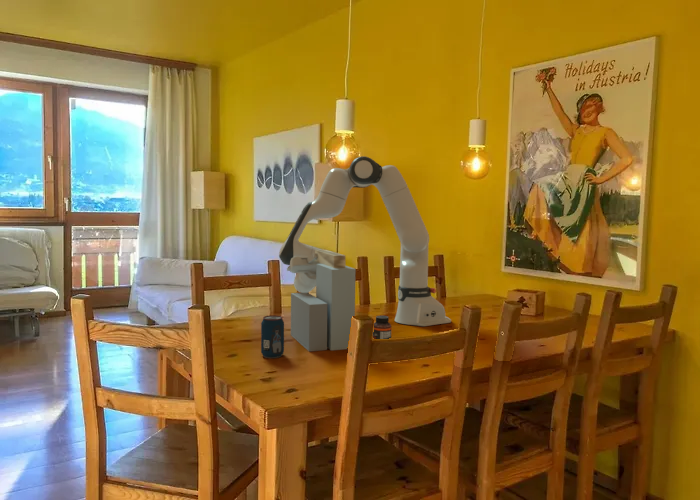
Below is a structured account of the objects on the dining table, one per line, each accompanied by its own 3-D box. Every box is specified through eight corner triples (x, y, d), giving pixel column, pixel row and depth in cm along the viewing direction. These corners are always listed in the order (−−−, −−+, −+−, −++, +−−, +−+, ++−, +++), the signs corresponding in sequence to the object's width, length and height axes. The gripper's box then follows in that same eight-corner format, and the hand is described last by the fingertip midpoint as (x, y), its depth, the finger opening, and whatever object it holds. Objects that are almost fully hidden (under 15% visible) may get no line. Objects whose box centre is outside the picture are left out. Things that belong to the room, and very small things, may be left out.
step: (307, 333, 199) (307, 292, 197) (326, 349, 178) (327, 303, 177) (290, 335, 196) (291, 293, 195) (309, 351, 176) (309, 304, 175)
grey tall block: (337, 336, 195) (338, 263, 193) (354, 348, 180) (355, 268, 178) (315, 338, 192) (316, 263, 190) (330, 350, 178) (332, 269, 175)
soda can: (269, 351, 175) (269, 314, 174) (288, 354, 172) (288, 316, 171) (256, 356, 169) (256, 318, 168) (275, 360, 166) (275, 320, 165)
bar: (325, 260, 200) (325, 249, 199) (345, 267, 181) (345, 255, 181) (315, 261, 198) (315, 250, 198) (333, 268, 180) (333, 255, 179)
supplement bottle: (369, 349, 179) (369, 315, 178) (385, 348, 181) (386, 314, 180) (377, 354, 174) (377, 319, 172) (394, 353, 176) (394, 317, 175)
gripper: (284, 263, 205) (293, 247, 193) (336, 261, 212) (348, 246, 200) (286, 279, 202) (295, 264, 191) (339, 277, 210) (351, 262, 198)
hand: (323, 255), depth 196 cm, fingers closed on bar, 4 cm apart
